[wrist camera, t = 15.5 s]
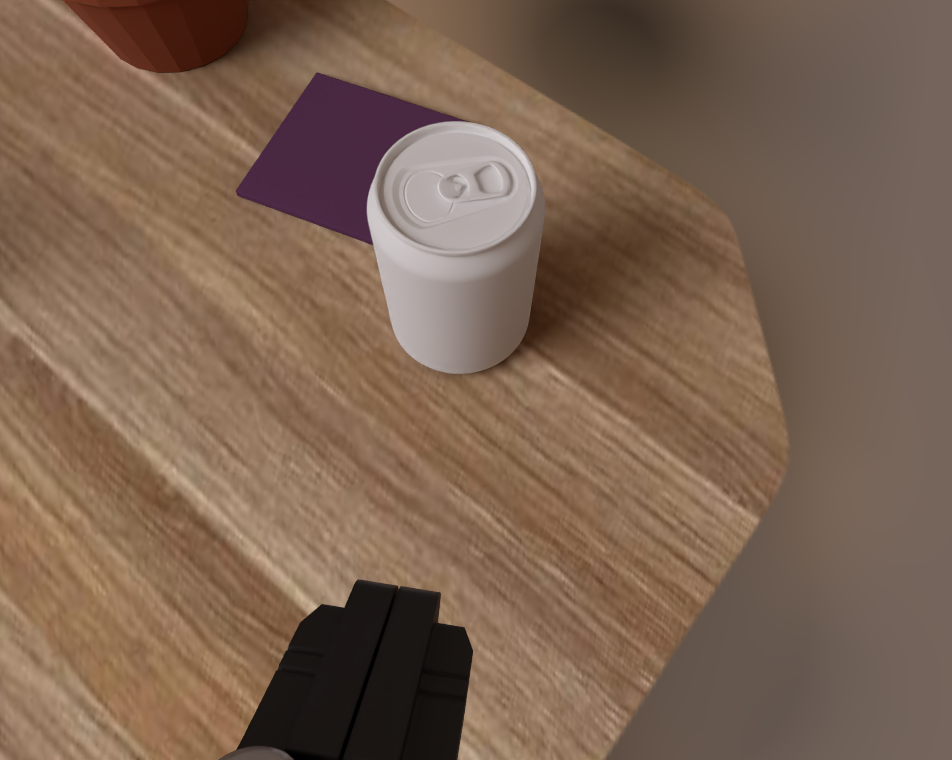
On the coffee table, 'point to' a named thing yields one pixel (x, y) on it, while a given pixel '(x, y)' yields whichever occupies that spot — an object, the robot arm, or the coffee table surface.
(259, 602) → the coffee table surface
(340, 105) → the cloth
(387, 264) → the beverage can
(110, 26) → the potted plant
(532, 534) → the coffee table surface
